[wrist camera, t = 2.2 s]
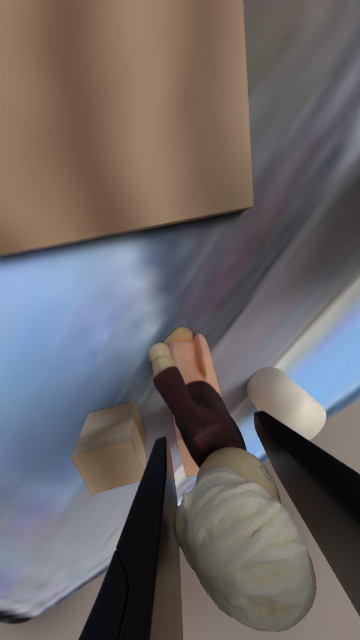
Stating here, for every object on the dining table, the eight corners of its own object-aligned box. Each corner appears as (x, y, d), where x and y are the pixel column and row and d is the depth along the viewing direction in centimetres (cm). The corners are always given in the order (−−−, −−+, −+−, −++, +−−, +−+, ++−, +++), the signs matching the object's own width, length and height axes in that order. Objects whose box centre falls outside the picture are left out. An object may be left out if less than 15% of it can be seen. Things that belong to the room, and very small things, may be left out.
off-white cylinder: (286, 362, 18) (327, 395, 14) (286, 396, 19) (324, 437, 15) (244, 372, 18) (274, 410, 13) (247, 407, 19) (275, 451, 15)
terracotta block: (213, 389, 18) (230, 425, 14) (218, 422, 19) (235, 463, 15) (171, 400, 17) (176, 440, 14) (179, 432, 19) (186, 477, 15)
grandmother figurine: (228, 359, 17) (416, 614, 5) (196, 388, 17) (296, 682, 5) (166, 297, 14) (238, 508, 2) (130, 332, 15) (45, 652, 3)
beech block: (135, 399, 17) (130, 441, 13) (146, 433, 18) (145, 479, 15) (88, 411, 17) (70, 457, 13) (103, 444, 18) (91, 494, 14)
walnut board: (226, -75, 9) (236, -121, 8) (244, 210, 13) (253, 206, 12) (-146, -43, 8) (-194, -91, 7) (0, 257, 12) (-16, 257, 11)
